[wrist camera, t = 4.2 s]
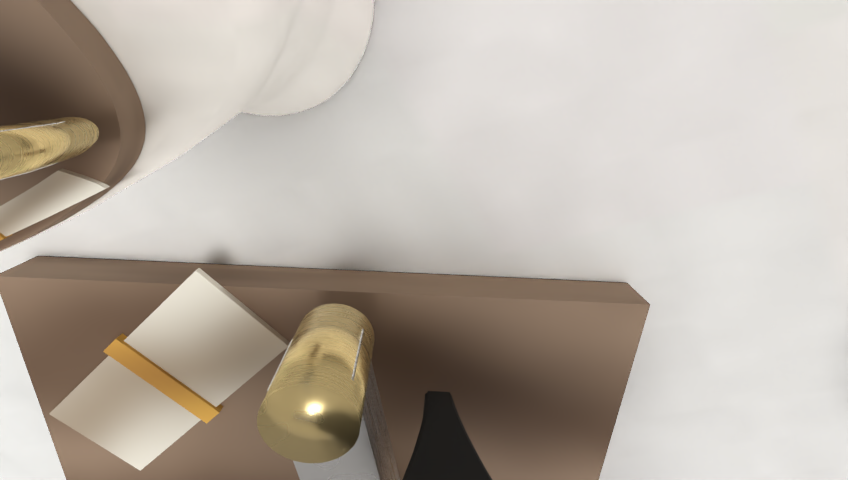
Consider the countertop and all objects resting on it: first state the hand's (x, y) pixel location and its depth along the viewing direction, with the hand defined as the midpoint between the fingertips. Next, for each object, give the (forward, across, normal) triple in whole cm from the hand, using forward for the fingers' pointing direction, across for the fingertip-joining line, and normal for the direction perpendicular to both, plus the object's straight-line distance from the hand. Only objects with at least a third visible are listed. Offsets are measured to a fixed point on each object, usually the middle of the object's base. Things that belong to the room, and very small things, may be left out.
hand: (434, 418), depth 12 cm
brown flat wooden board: (+3, +3, +7) cm, 8 cm away
